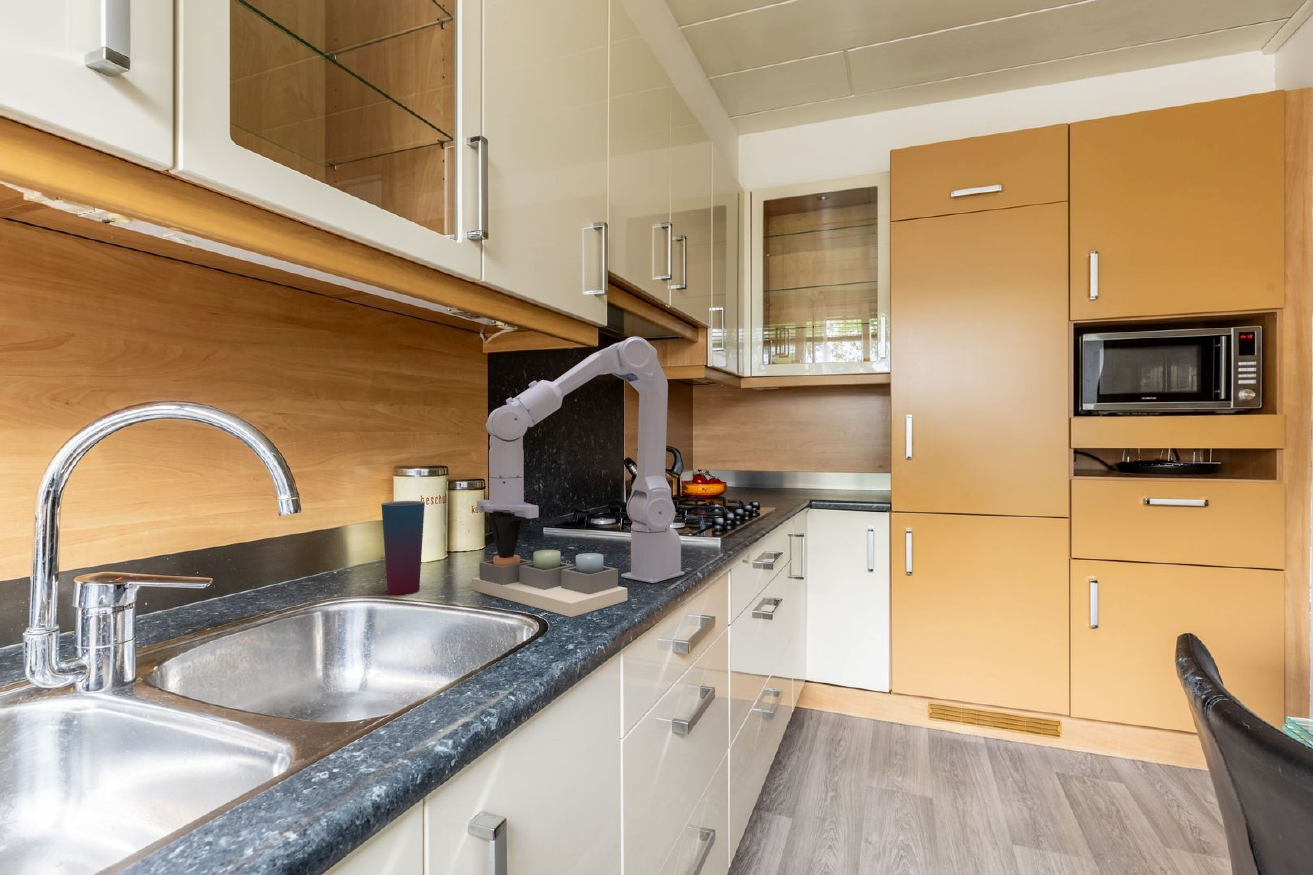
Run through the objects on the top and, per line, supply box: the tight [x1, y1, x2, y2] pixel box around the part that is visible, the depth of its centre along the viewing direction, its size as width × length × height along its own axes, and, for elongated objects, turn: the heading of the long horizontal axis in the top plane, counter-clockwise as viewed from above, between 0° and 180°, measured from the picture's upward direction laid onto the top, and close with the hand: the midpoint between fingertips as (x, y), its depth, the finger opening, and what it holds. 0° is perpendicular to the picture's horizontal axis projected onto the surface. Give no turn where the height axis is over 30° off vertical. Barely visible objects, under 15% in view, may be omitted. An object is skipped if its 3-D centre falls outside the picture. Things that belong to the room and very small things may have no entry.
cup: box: [381, 500, 426, 596], centre depth 109 cm, size 7×7×15 cm
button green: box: [532, 549, 561, 570], centre depth 106 cm, size 4×4×2 cm
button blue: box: [575, 552, 604, 574], centre depth 103 cm, size 4×4×2 cm
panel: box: [471, 558, 628, 618], centre depth 106 cm, size 12×25×5 cm, turn 50°
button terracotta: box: [492, 554, 521, 567], centre depth 109 cm, size 4×4×2 cm
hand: (506, 557), depth 109 cm, fingers closed, pressing on button terracotta
